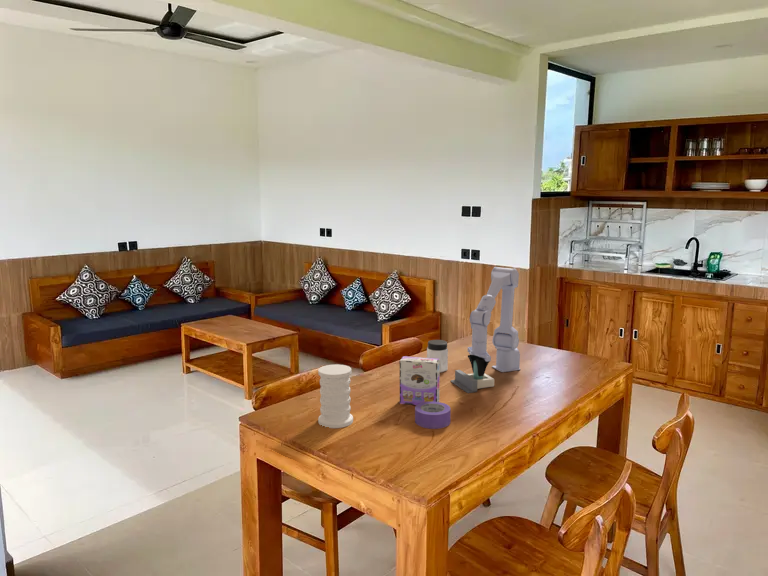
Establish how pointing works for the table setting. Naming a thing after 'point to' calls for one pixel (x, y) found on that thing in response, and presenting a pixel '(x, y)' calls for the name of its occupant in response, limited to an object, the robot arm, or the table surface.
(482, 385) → the block
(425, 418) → the tape roll
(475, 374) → the dowel
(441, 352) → the jar
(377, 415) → the table surface
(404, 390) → the candy box
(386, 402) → the table surface
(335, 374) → the decorative container
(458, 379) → the wall
